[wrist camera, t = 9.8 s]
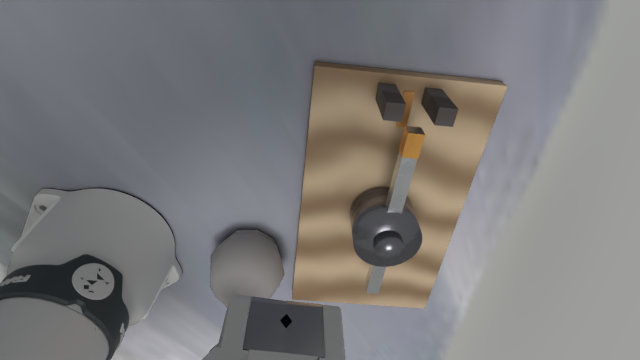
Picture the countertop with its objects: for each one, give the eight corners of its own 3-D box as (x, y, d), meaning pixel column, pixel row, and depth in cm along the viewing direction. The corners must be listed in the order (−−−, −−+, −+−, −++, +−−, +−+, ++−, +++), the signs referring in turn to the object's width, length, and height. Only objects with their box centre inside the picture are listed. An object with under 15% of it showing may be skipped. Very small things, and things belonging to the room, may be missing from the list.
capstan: (395, 267, 48) (405, 309, 42) (339, 262, 47) (342, 304, 42) (441, 117, 37) (463, 148, 32) (370, 109, 37) (379, 139, 31)
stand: (422, 299, 53) (433, 341, 48) (292, 290, 52) (289, 331, 47) (501, 81, 37) (533, 105, 31) (314, 61, 36) (314, 83, 30)
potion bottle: (296, 263, 50) (286, 407, 34) (234, 280, 51) (199, 425, 36) (268, 213, 45) (243, 352, 30) (201, 233, 47) (145, 375, 32)
